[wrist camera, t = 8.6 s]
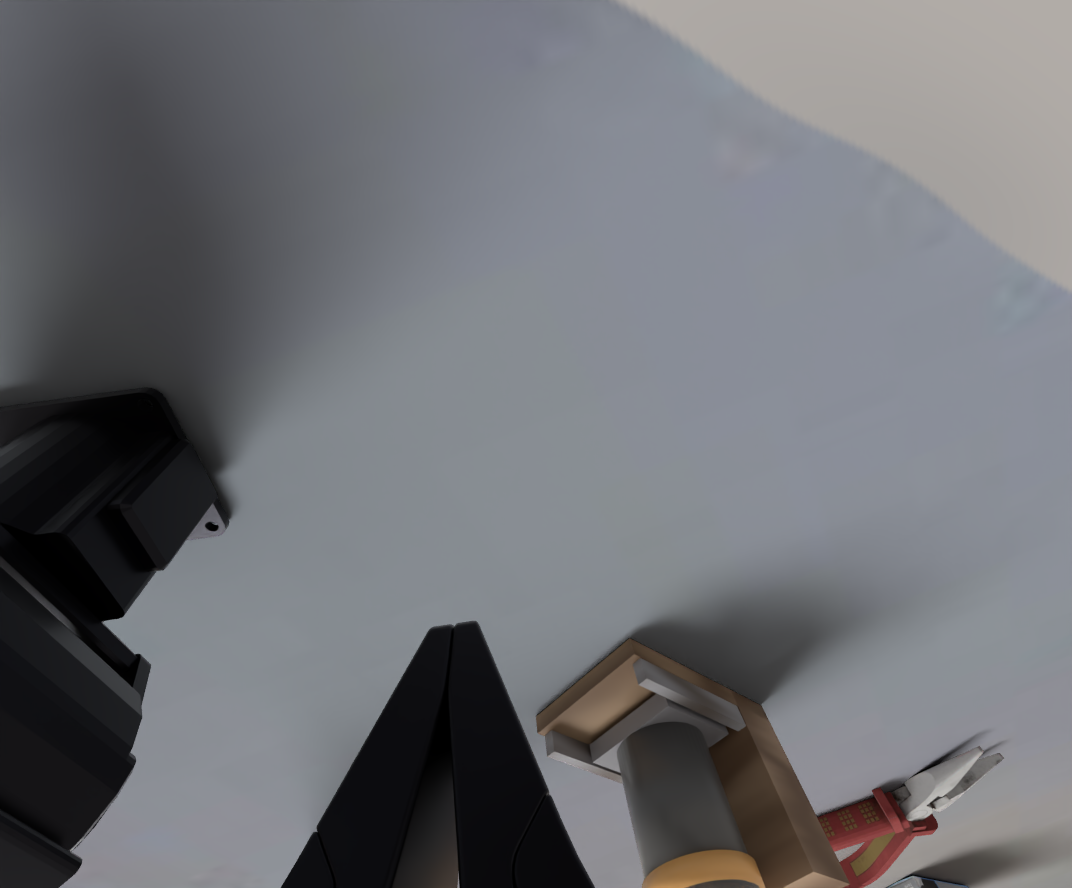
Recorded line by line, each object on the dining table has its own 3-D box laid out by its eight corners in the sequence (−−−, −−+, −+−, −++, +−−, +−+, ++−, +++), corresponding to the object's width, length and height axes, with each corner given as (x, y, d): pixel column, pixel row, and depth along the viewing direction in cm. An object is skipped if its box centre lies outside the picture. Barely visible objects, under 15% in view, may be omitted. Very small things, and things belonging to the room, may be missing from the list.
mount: (536, 716, 31) (555, 911, 23) (629, 638, 28) (686, 829, 20) (669, 769, 35) (723, 947, 27) (761, 705, 32) (849, 884, 25)
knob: (586, 743, 30) (618, 921, 24) (659, 687, 28) (718, 864, 22) (651, 768, 32) (698, 938, 26) (724, 718, 30) (795, 887, 24)
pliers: (1021, 752, 40) (1053, 788, 37) (826, 869, 48) (843, 906, 45) (929, 715, 36) (959, 754, 34) (734, 850, 44) (747, 888, 42)
